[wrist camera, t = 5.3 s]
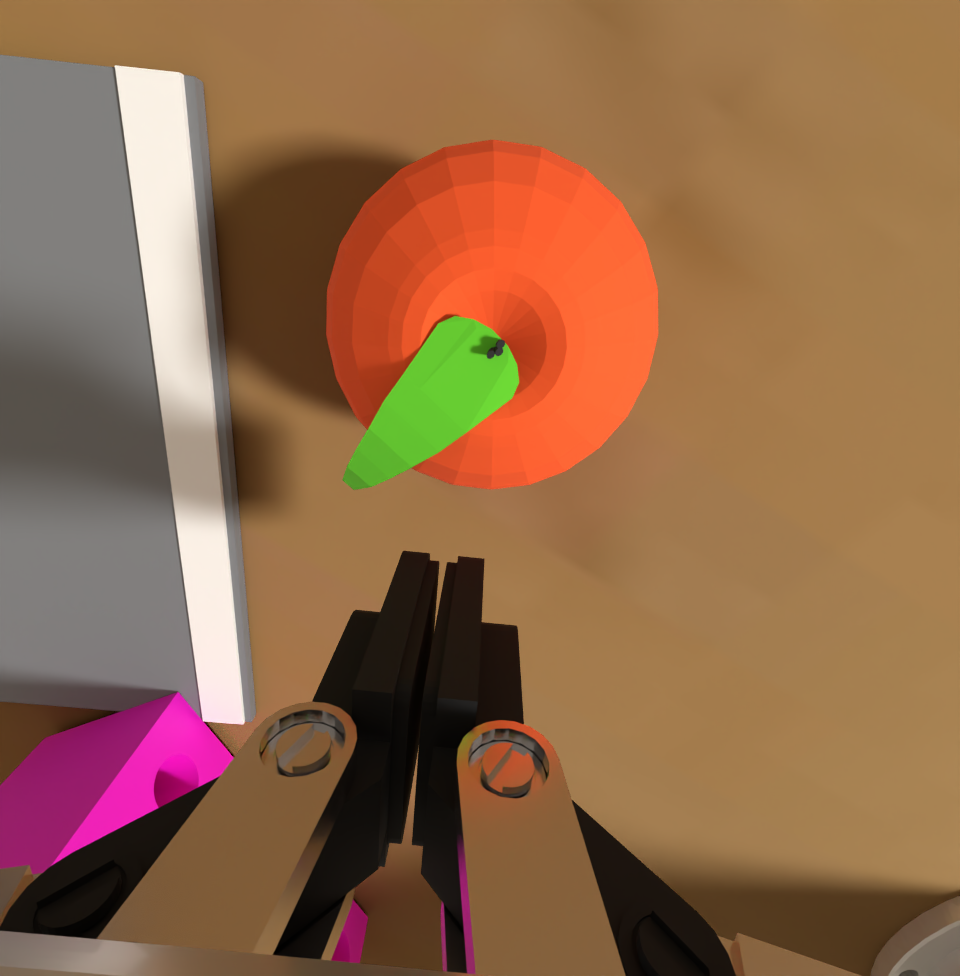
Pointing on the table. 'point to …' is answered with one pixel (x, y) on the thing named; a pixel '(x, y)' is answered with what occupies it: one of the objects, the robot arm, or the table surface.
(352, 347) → the clementine
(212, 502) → the mat
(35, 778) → the toy block
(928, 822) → the table surface
